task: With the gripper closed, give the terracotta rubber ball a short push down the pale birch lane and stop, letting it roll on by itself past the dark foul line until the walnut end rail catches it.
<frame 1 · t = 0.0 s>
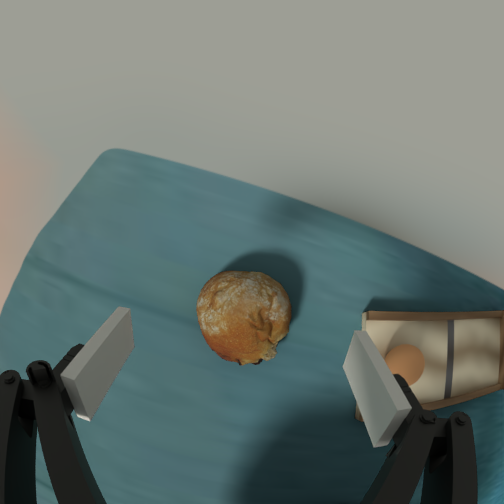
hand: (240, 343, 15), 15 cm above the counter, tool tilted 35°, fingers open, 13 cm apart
lane: (447, 359, 30), on the counter
ball: (393, 365, 28), point 1 cm above the counter, touching lane
bread roll: (244, 319, 31), on the counter
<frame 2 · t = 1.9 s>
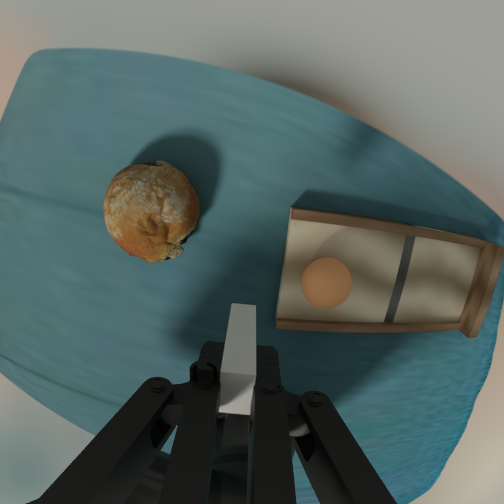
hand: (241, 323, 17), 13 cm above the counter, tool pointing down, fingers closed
lane: (399, 277, 30), on the counter
ball: (321, 274, 29), point 1 cm above the counter, touching lane
bread roll: (157, 209, 29), on the counter
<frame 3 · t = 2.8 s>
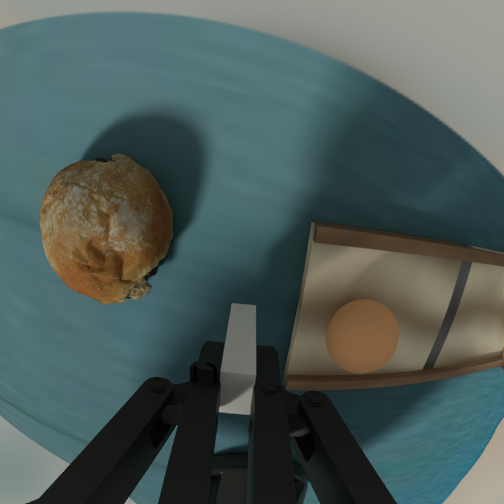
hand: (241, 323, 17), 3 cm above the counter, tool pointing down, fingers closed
lane: (445, 312, 21), on the counter
ball: (351, 318, 19), point 1 cm above the counter, touching lane
bread roll: (116, 225, 19), on the counter
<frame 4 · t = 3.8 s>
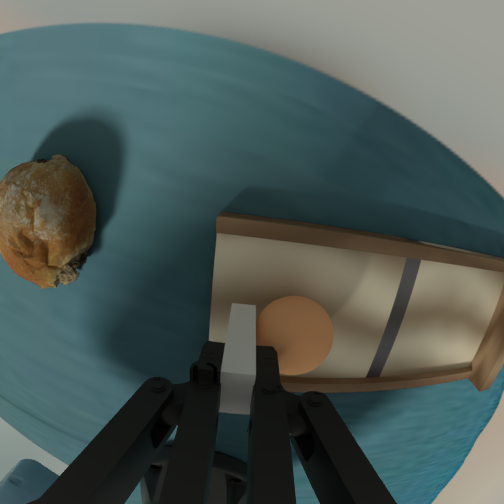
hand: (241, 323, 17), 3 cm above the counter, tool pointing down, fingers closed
lane: (393, 316, 21), on the counter
ball: (272, 317, 19), point 2 cm above the counter, tilted 29°, touching lane
bread roll: (57, 218, 19), on the counter
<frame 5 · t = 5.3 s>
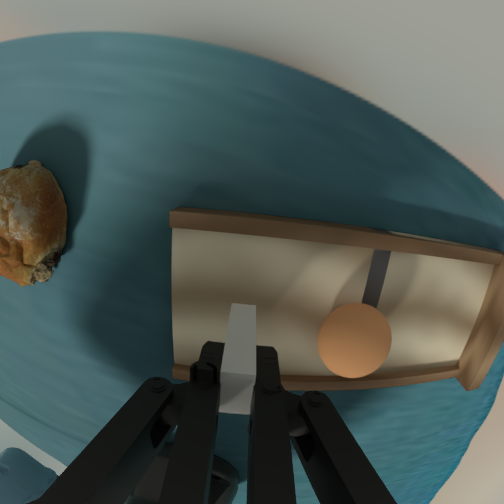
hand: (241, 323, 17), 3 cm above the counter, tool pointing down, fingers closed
lane: (365, 311, 20), on the counter
ball: (367, 367, 15), point 6 cm above the counter, tilted 172°, touching lane
bread roll: (35, 220, 19), on the counter
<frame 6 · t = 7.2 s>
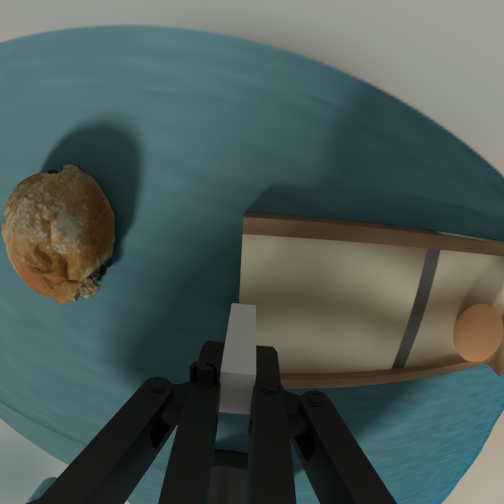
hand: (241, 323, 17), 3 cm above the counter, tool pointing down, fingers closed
lane: (415, 307, 20), on the counter
ball: (461, 322, 19), point 1 cm above the counter, tilted 7°, touching lane
bread roll: (72, 230, 19), on the counter
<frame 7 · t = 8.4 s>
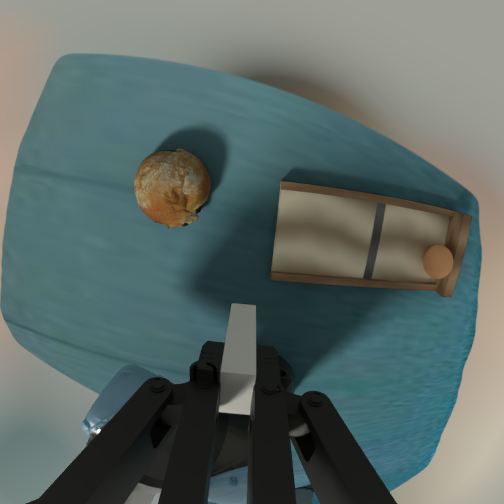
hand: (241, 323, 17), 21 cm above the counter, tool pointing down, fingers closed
moka pot: (299, 491, 62), on the counter
lane: (374, 240, 38), on the counter
ball: (427, 262, 34), point 4 cm above the counter, tilted 102°, touching lane
bread roll: (176, 187, 36), on the counter
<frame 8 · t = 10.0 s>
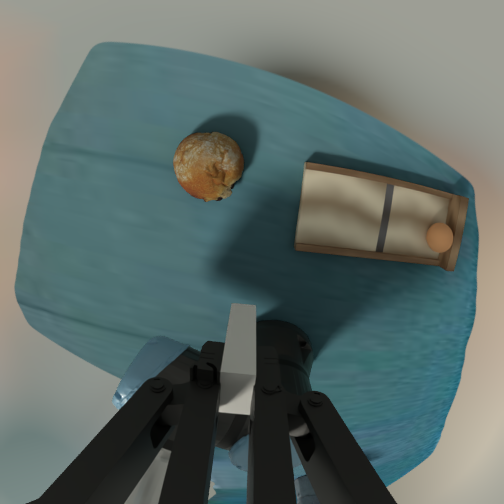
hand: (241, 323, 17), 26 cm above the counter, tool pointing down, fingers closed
moka pot: (309, 479, 64), on the counter
lane: (384, 217, 42), on the counter
ball: (430, 237, 38), point 4 cm above the counter, tilted 97°, touching lane
bread roll: (211, 166, 40), on the counter
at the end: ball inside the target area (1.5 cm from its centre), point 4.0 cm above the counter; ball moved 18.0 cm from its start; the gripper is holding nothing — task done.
